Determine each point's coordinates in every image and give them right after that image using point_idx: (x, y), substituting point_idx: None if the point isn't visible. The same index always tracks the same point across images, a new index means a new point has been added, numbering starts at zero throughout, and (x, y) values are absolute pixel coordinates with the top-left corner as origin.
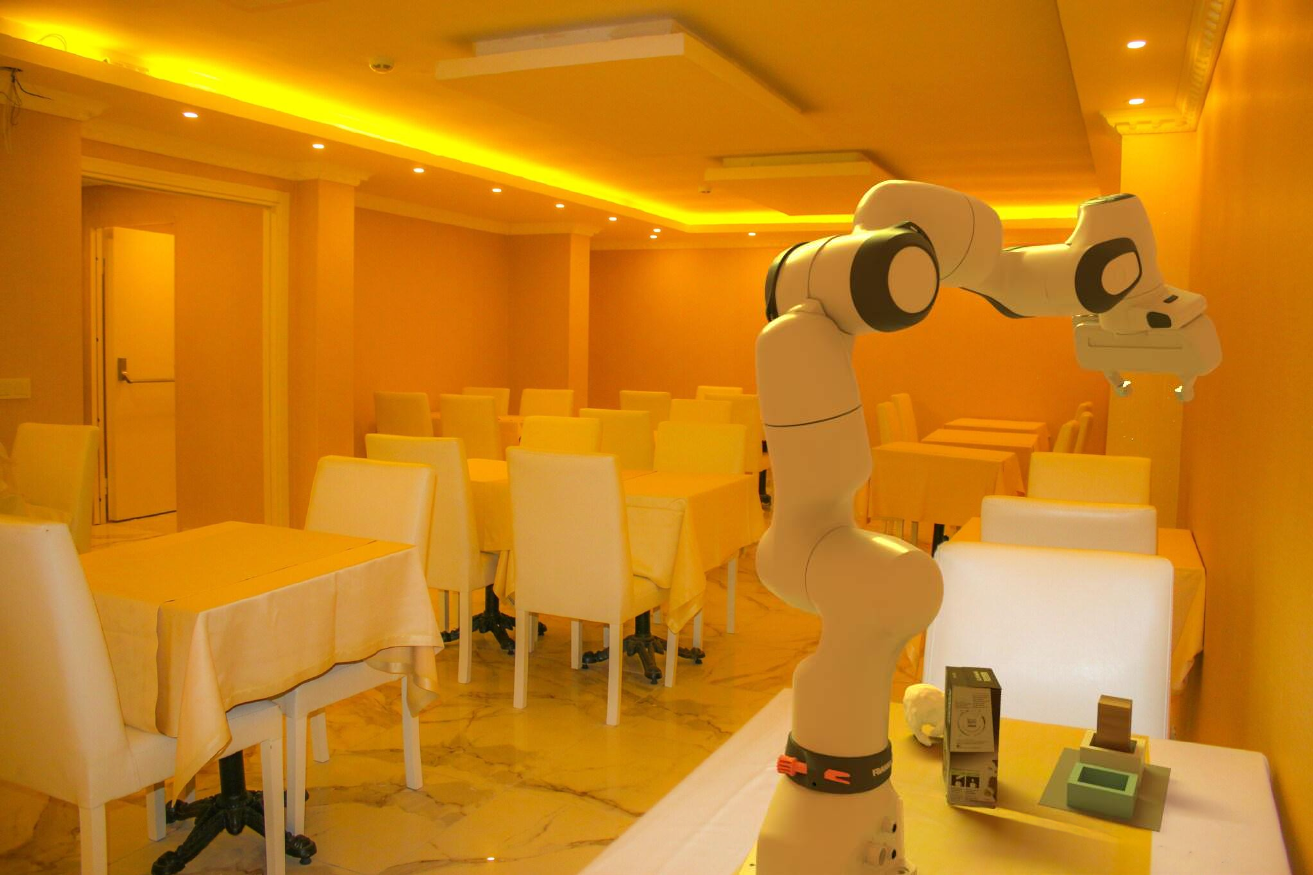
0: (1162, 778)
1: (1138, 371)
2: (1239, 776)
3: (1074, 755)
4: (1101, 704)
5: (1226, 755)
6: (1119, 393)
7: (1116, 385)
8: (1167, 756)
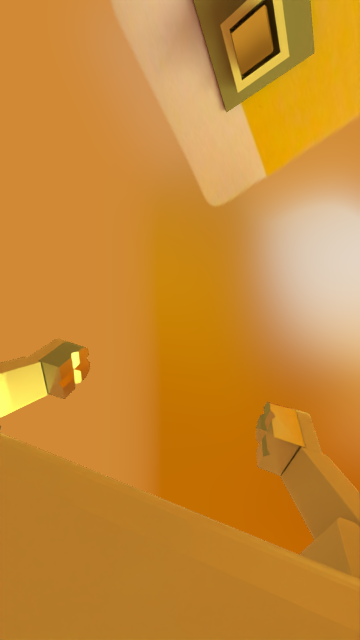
0: (221, 77)
1: (111, 488)
2: (199, 161)
3: (299, 39)
4: (260, 8)
5: (219, 191)
6: (293, 418)
7: (307, 455)
8: (243, 151)
